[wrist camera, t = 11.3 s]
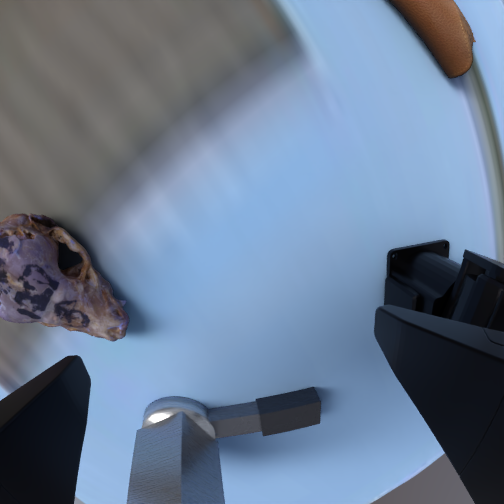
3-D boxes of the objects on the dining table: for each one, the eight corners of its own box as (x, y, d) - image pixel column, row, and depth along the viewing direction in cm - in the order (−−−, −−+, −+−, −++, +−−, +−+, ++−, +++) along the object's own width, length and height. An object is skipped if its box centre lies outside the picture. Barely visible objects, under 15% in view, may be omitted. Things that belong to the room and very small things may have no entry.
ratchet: (313, 372, 25) (330, 406, 21) (313, 420, 27) (327, 452, 23) (134, 399, 24) (126, 435, 20) (156, 444, 26) (153, 478, 21)
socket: (182, 410, 22) (181, 518, 13) (218, 441, 24) (229, 538, 14) (136, 430, 22) (124, 528, 13) (174, 458, 24) (174, 549, 15)
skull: (152, 294, 22) (137, 340, 16) (99, 357, 22) (79, 408, 17) (31, 186, 18) (-19, 198, 12) (-8, 263, 19) (-52, 292, 13)
